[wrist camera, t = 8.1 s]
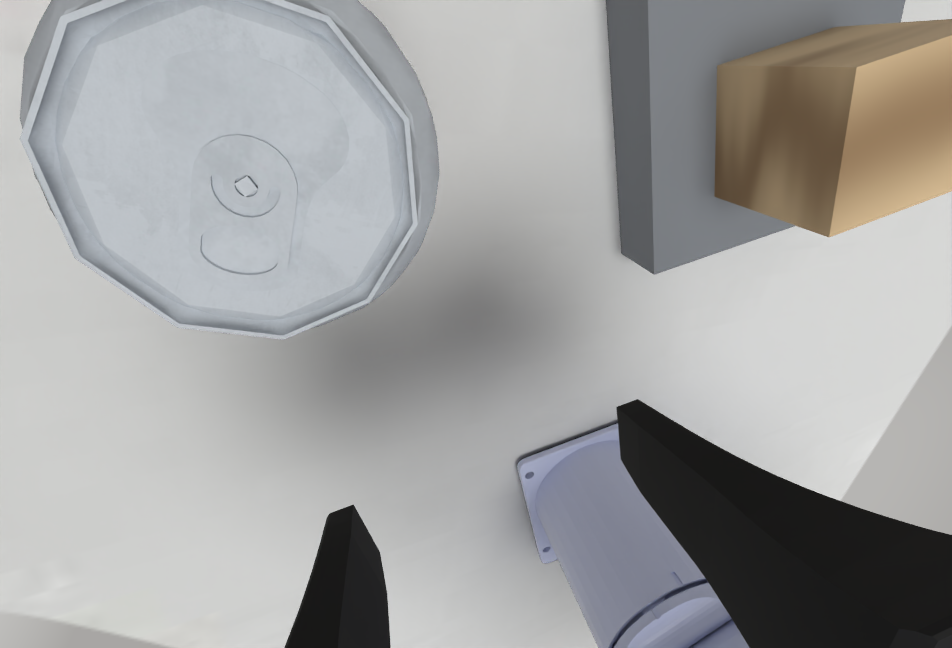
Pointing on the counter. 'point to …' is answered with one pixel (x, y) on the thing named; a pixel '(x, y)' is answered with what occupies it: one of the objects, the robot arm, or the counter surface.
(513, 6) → the counter surface
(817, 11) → the charcoal base
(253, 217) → the beer can
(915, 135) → the oak block
